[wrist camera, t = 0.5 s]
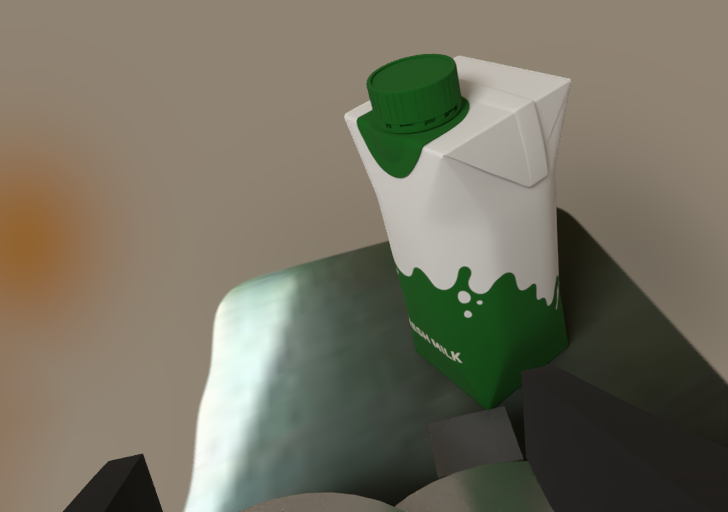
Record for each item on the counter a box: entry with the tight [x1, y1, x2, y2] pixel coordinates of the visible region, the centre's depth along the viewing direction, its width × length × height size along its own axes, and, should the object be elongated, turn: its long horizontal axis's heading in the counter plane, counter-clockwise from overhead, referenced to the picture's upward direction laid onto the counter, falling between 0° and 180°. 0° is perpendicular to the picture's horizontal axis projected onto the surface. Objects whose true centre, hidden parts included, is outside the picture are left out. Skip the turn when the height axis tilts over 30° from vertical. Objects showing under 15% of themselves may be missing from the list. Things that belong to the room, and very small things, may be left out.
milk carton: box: [344, 54, 571, 410], centre depth 32 cm, size 9×9×20 cm
